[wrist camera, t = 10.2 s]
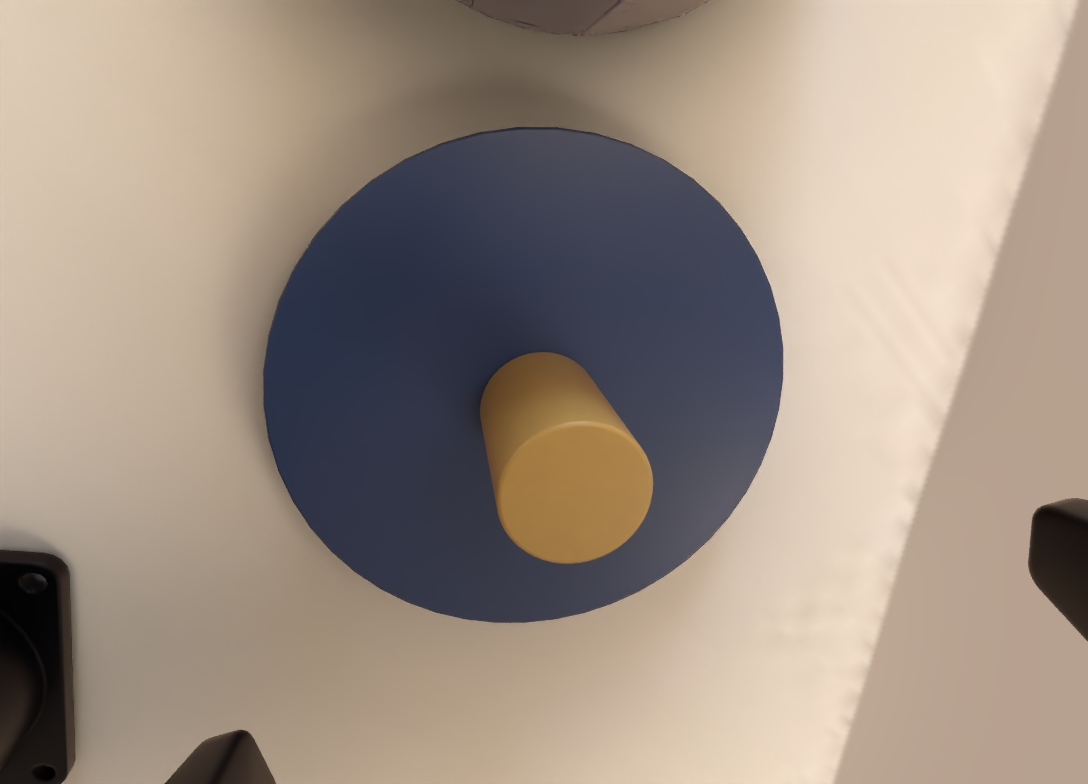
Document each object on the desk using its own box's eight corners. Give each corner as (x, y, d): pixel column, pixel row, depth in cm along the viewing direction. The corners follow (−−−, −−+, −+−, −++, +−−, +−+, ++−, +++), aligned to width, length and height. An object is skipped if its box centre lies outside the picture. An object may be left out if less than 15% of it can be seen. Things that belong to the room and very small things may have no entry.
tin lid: (691, 608, 18) (783, 768, 13) (258, 580, 16) (183, 762, 11) (824, 189, 15) (1010, 203, 10) (295, 69, 12) (208, 13, 8)
